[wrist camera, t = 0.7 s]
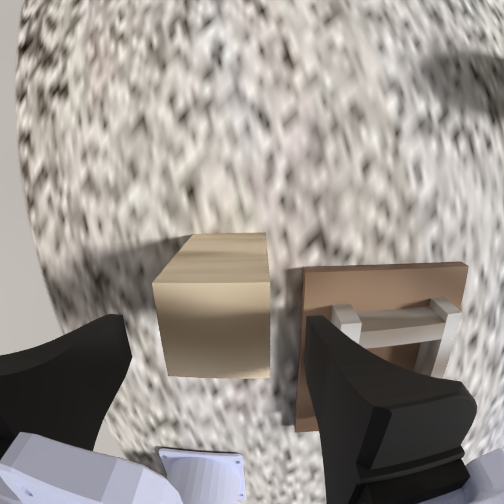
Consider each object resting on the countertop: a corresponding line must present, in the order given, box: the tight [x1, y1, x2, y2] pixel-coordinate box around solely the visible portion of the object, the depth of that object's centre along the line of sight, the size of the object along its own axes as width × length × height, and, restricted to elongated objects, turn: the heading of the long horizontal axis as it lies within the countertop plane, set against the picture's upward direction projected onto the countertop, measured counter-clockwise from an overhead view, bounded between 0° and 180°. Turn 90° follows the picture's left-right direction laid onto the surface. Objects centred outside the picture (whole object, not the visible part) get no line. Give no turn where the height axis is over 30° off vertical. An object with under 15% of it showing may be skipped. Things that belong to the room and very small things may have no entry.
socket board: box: [294, 262, 469, 432], centre depth 20 cm, size 14×12×4 cm
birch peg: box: [152, 233, 270, 379], centre depth 16 cm, size 4×4×8 cm
